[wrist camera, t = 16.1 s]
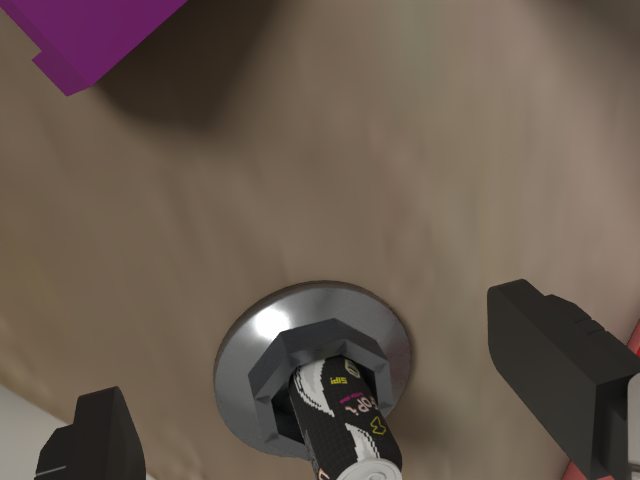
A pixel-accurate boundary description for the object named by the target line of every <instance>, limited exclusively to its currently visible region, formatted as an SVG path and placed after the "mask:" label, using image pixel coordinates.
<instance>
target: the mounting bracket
mask: <svg viewBox="0 0 640 480" xmlns="http://www.w3.org/2000/svg"><path fill="white" fill-rule="evenodd" d="M186 1H188V0H0V7H1V8H2V9H3V10H4V11H5V12H6V13H7V14H8V15H9V16H10V17H11V18H12V19H13V20H14V22H15V23H16V24H17V25H18V26H19V27H20V28H21V29H22V30H23V31H24V32H25V33H26V34H27V35H28V36H29V37H30V38H31V40H32V41H33V42H34V43H35V44H36V45H37V46H38V47H39V48H40V49H41V50H42V52H41V53H39V54H38V55H37V56H36V57H35V58H33V59H32V61H33V62H34V63H35V64H36V65H37V66H38V67H39V68H40V69H41V70H42V71H43V73H44V74H45V75H46V76H47V77H48V78H49V79H50V80H51V81H52V82H53V83H54V84H55V85H56V86H57V87H58V88H59V89H60V90H61V91H62V92H63V93H64V94H65V95H66V96H70V95H72V94H74V93H77V92H79V91H81V90H84V89H86V88H89V87H91V86H92V85H93V84H94V83H95V82H97V81H98V80H99V79H100V78H101V77H102V76H103V75H104V74H106V73H107V72H108V71H109V70H110V69H111V68H112V67H113V66H115V65H116V64H117V63H118V62H119V61H120V60H121V59H122V58H123V57H125V56H126V55H127V54H128V53H129V52H130V51H131V50H132V49H134V48H135V47H136V46H137V45H138V44H139V43H140V42H141V41H143V40H144V39H145V38H146V37H147V36H148V35H149V34H150V33H152V32H153V31H154V30H155V29H156V28H157V27H158V26H159V25H161V24H162V23H163V22H164V21H165V20H166V19H167V18H168V17H170V16H171V15H172V14H173V13H174V12H175V11H176V10H177V9H179V8H180V7H181V6H182V5H183V4H184V3H185V2H186Z"/></svg>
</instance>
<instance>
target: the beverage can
mask: <svg viewBox="0 0 640 480" xmlns="http://www.w3.org/2000/svg"><path fill="white" fill-rule="evenodd" d="M288 391H289V396H290V399H291V402H292V405H293V408H294V411H295V414H296V417H297V420H298V423H299V427H300V430H301V433H302V436H303V439H304V442H305V445H306V448H307V451H308V454H309V458H310V461H311V464H312V467H313V470H314V473H315V476H316V479H317V480H402V475H401V469H402V455H401V452H400V450H399V447H398V445H397V443H396V441H395V439H394V437H393V435H392V433H391V431H390V430H389V428H388V426H387V424H386V422H385V420H384V418H383V416H382V414H381V412H380V410H379V408H378V406H377V404H376V402H375V400H374V398H373V396H372V394H371V392H370V390H369V388H368V387H367V385H366V383H365V381H364V379H363V377H362V375H361V373H360V371H359V369H358V367H357V365H356V363H355V362H354V361H353V360H351V359H349V358H348V357H346V356H344V355H342V354H340V355H336V356H332V357H329V358H325V359H321V360H318V361H314V362H310V363H306V364H303V365H299V366H297V367H296V368H295V369H294V371H293V372H292V373H291V374H290V377H289V380H288Z"/></svg>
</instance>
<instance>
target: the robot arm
mask: <svg viewBox="0 0 640 480" xmlns="http://www.w3.org/2000/svg"><path fill="white" fill-rule="evenodd" d="M487 314H488V345H489V351H490V355H491V358H492V361H493V363H494V365H495V367H496V369H497V371H498V372H499V373H500V375H501V376H502V377H503V378H504V379H505V381H506V382H507V383H508V384H509V385H510V387H511V388H512V389H513V390H514V391H515V393H516V394H517V395H518V396H519V397H520V399H521V400H522V401H523V402H524V404H525V405H526V406H527V407H528V408H529V410H530V411H531V412H532V413H533V414H534V416H535V417H536V418H537V419H538V420H539V422H540V423H541V424H542V425H543V427H544V428H545V429H546V430H547V431H548V433H549V434H550V435H551V436H552V437H553V439H554V440H555V441H556V442H557V443H558V445H559V446H560V447H561V448H562V450H563V451H564V452H565V453H566V454H567V456H568V457H569V458H570V459H571V460H572V462H573V463H574V464H575V465H576V466H577V468H578V469H579V470H580V471H581V472H582V474H583V475H584V476H585V477H586V479H587V480H597V479H600V478H603V477H606V476H609V475H611V476H612V477H613V478H614V479H615V480H640V357H639V356H637V355H636V354H635V353H634V352H633V351H631V350H630V349H629V348H628V347H627V346H625V345H624V344H623V343H622V342H620V341H619V340H618V339H617V338H616V337H614V336H613V335H612V334H611V333H610V332H608V331H607V332H606V331H605V329H604V327H602V326H601V325H600V324H599V323H597V322H596V321H595V320H592V319H591V317H590V316H589V315H588V314H587V313H585V312H584V311H583V310H582V309H581V308H579V307H578V306H577V305H576V304H574V303H572V302H569V301H567V300H565V299H562V298H560V297H557V296H555V295H553V294H551V295H548V296H544V295H543V294H542V293H540V292H539V291H538V290H537V289H536V288H535V287H533V286H532V285H531V284H530V283H529V282H528V281H526V280H524V279H519V280H516V281H512V282H508V283H504V284H501V285H497V286H493V287H490V288H489V290H488V292H487ZM34 480H146V467H145V459H144V454H143V449H142V446H141V442H140V440H139V437H138V434H137V432H136V429H135V426H134V424H133V421H132V418H131V416H130V413H129V410H128V408H127V405H126V402H125V400H124V397H123V394H122V392H121V390H120V388H119V387H118V386H115V387H111V388H108V389H104V390H100V391H96V392H93V393H89V394H85V395H81V396H79V397H78V400H77V405H76V411H75V416H74V422H73V424H72V425H68V426H65V427H61V428H57V429H56V430H55V431H54V433H53V434H52V435H51V437H50V438H49V440H48V441H47V443H46V444H45V445H44V447H43V448H42V450H41V451H40V456H39V460H38V464H37V469H36V477H35V478H34Z"/></svg>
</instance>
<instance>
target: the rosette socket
mask: <svg viewBox="0 0 640 480" xmlns="http://www.w3.org/2000/svg"><path fill="white" fill-rule="evenodd" d="M340 354H342V355H344V356H346V357H348V358H349V359H351V360H353V361H354V362H355V363H356V365H357V367H358V369H359V371H360V373H361V375H362V377H363V379H364V381H365V383H366V385H367V387H368V388H369V390H370V392H371V394H372V396H373V398H374V400H375V402H376V404H377V406H378V408H379V410H380V412H381V414H382V416H383V418H384V419H385V418H386V417H387V416H388V415H389V413H390V412H391V411H392V409H393V408H394V407H395V405H396V404H397V402H398V401H399V399H400V397H401V395H402V393H403V391H404V389H405V386H406V384H407V381H408V377H409V373H410V366H411V351H410V345H409V341H408V338H407V335H406V332H405V330H404V328H403V327H402V325H401V323H400V322H399V320H398V319H397V317H396V316H395V314H394V313H393V312H392V310H391V309H390V308H389V306H388V305H387V304H386V303H385V302H384V301H382V300H381V299H380V298H379V297H377V296H376V295H375V294H373V293H372V292H370V291H368V290H366V289H364V288H362V287H359V286H356V285H353V284H350V283H345V282H339V281H326V280H323V281H310V282H304V283H299V284H295V285H292V286H289V287H285V288H283V289H281V290H278V291H276V292H274V293H271V294H270V295H268V296H266V297H265V298H263V299H261V300H259V301H258V302H257V303H255V304H254V305H253V306H251V307H250V308H249V309H248V310H246V311H245V312H244V313H243V314H242V315H241V316H240V317H239V318H238V319H237V320H236V322H235V323H234V324H233V325H232V326H231V328H230V329H229V331H228V332H227V334H226V335H225V337H224V339H223V341H222V343H221V345H220V347H219V349H218V352H217V356H216V359H215V364H214V371H213V382H214V390H215V396H216V402H217V406H218V409H219V412H220V415H221V417H222V419H223V420H224V422H225V424H226V426H227V427H228V428H229V429H230V430H231V432H232V433H233V434H234V435H235V436H236V437H238V438H239V439H240V440H241V441H242V442H244V443H245V444H247V445H249V446H250V447H252V448H254V449H257V450H259V451H261V452H264V453H268V454H271V455H276V456H281V457H299V458H302V459H304V460H307V461H310V458H309V454H308V451H307V448H306V445H305V442H304V439H303V436H302V433H301V430H300V427H299V423H298V420H297V417H296V414H295V411H294V408H293V405H292V402H291V399H290V396H289V391H288V380H289V377H290V374H291V373H292V372H293V371H294V369H295V368H296V367H297V366H299V365H303V364H306V363H310V362H314V361H318V360H321V359H325V358H329V357H332V356H336V355H340Z"/></svg>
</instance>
